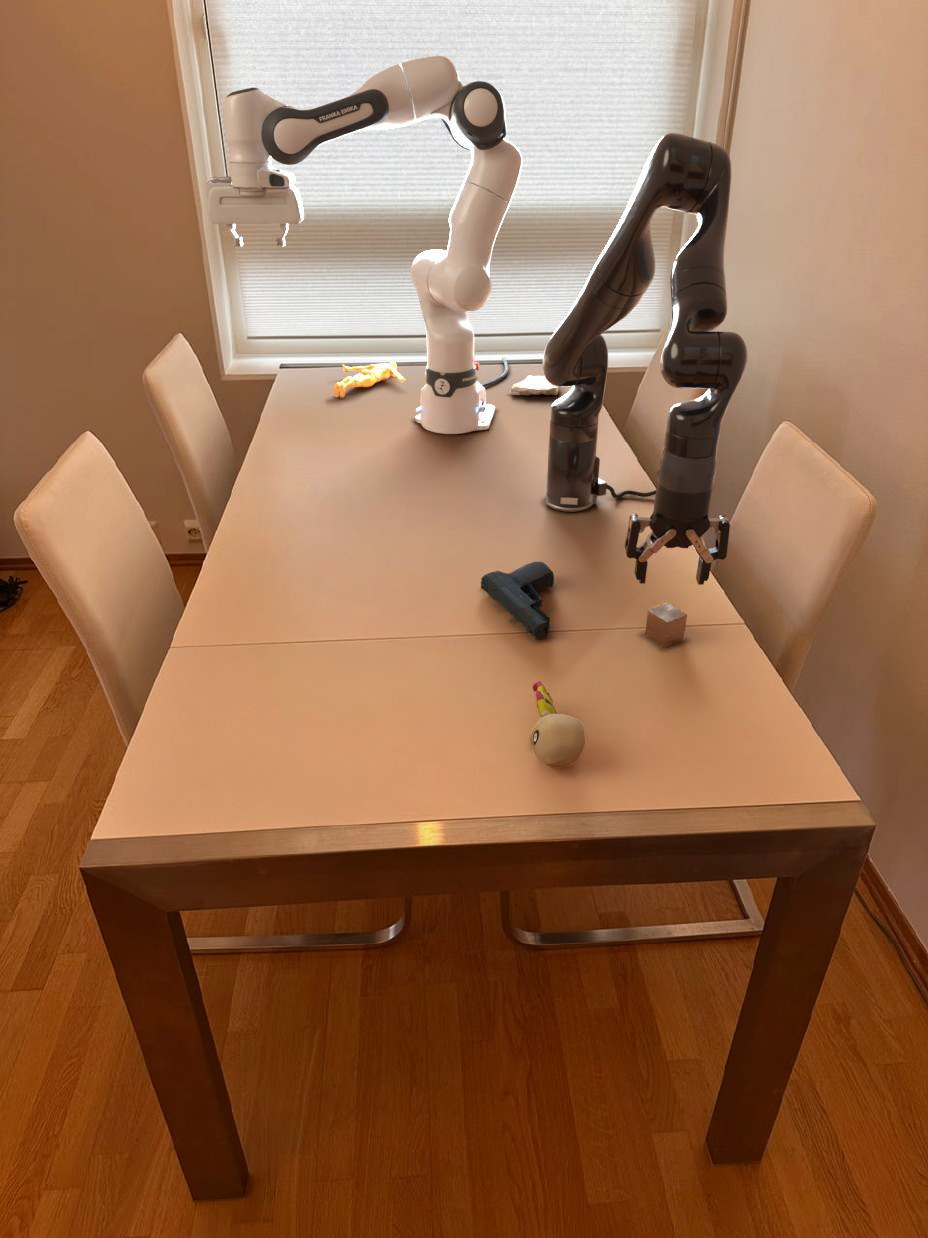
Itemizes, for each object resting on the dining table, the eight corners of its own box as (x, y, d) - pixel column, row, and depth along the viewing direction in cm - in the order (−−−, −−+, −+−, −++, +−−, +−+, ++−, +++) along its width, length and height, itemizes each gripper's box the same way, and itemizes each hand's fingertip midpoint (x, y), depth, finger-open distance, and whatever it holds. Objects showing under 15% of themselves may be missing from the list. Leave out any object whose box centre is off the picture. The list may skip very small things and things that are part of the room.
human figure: (402, 372, 253) (401, 358, 251) (409, 392, 236) (408, 377, 234) (333, 377, 251) (331, 363, 249) (335, 398, 234) (333, 382, 232)
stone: (553, 399, 232) (554, 389, 231) (509, 395, 235) (509, 385, 234) (564, 385, 243) (564, 375, 241) (521, 381, 246) (522, 372, 244)
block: (663, 648, 134) (667, 622, 132) (644, 635, 137) (647, 609, 135) (683, 640, 136) (687, 614, 133) (664, 627, 139) (667, 602, 136)
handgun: (595, 623, 140) (530, 643, 135) (537, 573, 153) (475, 590, 148) (597, 606, 138) (530, 625, 134) (538, 557, 151) (476, 573, 147)
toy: (510, 684, 120) (525, 756, 108) (557, 660, 119) (578, 730, 106) (530, 713, 123) (547, 787, 110) (577, 690, 122) (599, 762, 109)
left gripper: (199, 178, 188) (209, 248, 195) (296, 177, 187) (302, 248, 194) (207, 174, 193) (217, 243, 200) (301, 174, 193) (307, 243, 200)
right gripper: (637, 490, 119) (625, 594, 128) (744, 491, 119) (724, 595, 128) (629, 468, 126) (618, 568, 134) (731, 469, 125) (713, 569, 134)
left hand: (260, 245), depth 197 cm, fingers open, 8 cm apart
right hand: (670, 581), depth 131 cm, fingers open, 8 cm apart
